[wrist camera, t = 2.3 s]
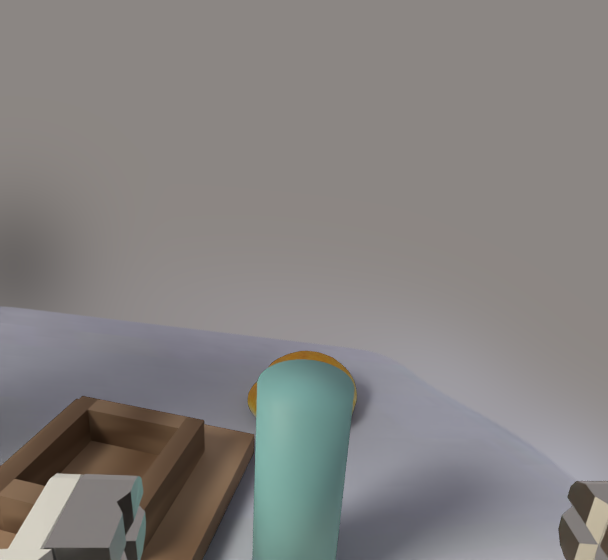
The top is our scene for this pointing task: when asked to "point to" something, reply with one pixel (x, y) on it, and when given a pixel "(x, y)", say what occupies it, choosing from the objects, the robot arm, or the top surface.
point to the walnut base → (135, 470)
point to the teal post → (300, 459)
